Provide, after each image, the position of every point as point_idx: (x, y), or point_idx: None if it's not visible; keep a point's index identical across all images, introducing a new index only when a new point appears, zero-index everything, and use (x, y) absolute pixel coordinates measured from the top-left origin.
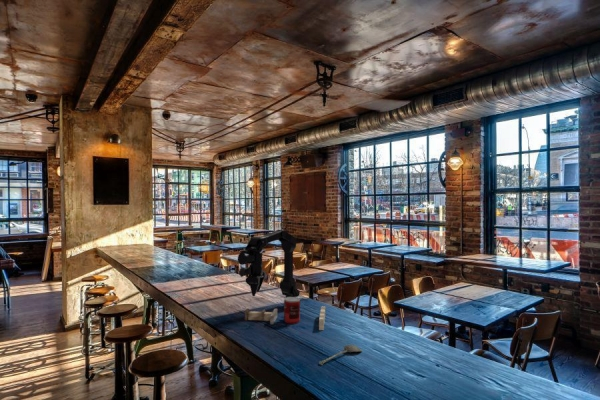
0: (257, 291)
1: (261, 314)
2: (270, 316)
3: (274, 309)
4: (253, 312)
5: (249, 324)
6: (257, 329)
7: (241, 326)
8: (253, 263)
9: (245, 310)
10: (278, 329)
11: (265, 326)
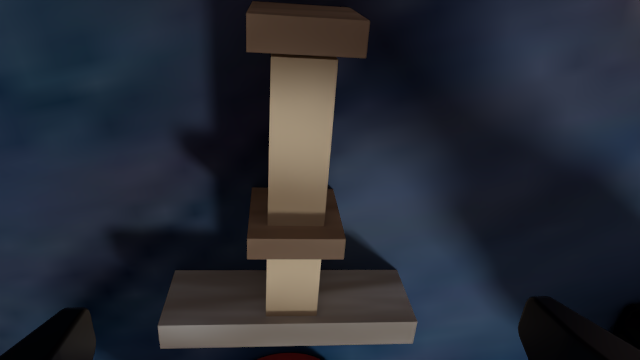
0: (523, 310)
1: (267, 213)
2: (158, 325)
3: (382, 325)
4: (289, 124)
5: (121, 88)
6: (3, 194)
7: (26, 8)
8: None
9: (274, 17)
10: None
11: (109, 245)
